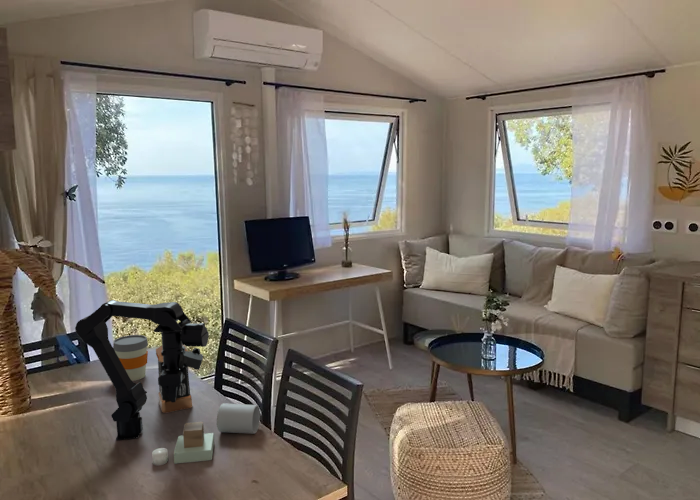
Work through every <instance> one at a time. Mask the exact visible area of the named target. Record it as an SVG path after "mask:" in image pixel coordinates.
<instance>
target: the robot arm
mask: <svg viewBox="0 0 700 500" xmlns="http://www.w3.org/2000/svg"><path fill="white" fill-rule="evenodd" d="M112 317H117V318H118V317H120V318H127V319H129V318H131V319H137V320H138V319H139V320H148V321H150V322H152V323H154V324H156V325H157V327H155V329H154V330H153V332H154V333H160V334H161V336H160V337H161V346H162V352H161V356H163V365H162V369H167V370H168V371H162V372H161V373H160V375H159V374H158V378H157V384H158V386H159V385H160V386H161V387H162V388H163V390H164V391H165V393H166V394H167V396H168V397H169V399H170V401H171V402H175V401H176V394H177V390H179V389H180V385H181V382H182V372H183V371H184V370H185V369H186V367H188V368H191V369H194V370H195V371H197V370H198V371H200V368H201V365H202V363H203V359H204V355H203V353H201V349H200V347H203V348H205V347H207V345H208V342H209V335H210V334H209V333H210V332H209V331H208V329H207V327H206V324H205V322H199V323H192V321H191V319H190V318H189V316H188V315H187V314H186V313H185V312H184V308H182V306H181V304H180V303H178V302H176V301H175V302H174V301H170V302H162V303H156V304H148V303H147V304H146V303H138V302H127V301H117V300H115V299H112V300H109V301H105V302H104V303H102V304H101V305H100V307H98V308H97V309H96V310H94V312H92V313H91V314H89V315H88V316H85V317H84V318H82V319H80V320H78V321H77V322H76V325H75V326H74V327H75V328H74V329H75V333H76V334H77V336H78V337H79V338H80V339H81V340H82V341H81V342H83V343H85V345H88V346H90V348H92V350H93V352H94V354H95V355H96V356H97V358H98V360H99V362H100V364H101V366H102V367H103V369H104V371H105V373H106V375H107V377H108V379H109V380H110V381H111V383H112V385H113V388H114V389H115V401H116V403H117V407H118V408H117V409H116V410H115V411H113V412H112V414H111V418H112V420H113V422H115V425H116V433H117V434H116V437H115V440H116V441H120V440H121V441H122V440H132V439H138V438H139V437H140V436H141V433H142V432H143V430H144V429H143V426H144V425H143V417H142V416H141V413H140V411H142V408H143V406H145V404H146V403H147V400H148V396H147V393H148V392H147V390H145V388H144V386H143V383H142V382H141V381H139V382H137V383H136V382H135V381H132V380H131V379H130V377H129V376H128V374H127V372H126V370H125V368H124V367H123V365H122V363H121V361H120V359H119V358H118V356H117V354H116V352H115V350H114V349H113V344H112V343H111V342H110V340H109V328H108V326H107V325H108V324H107V322H108V321H109V320H111V318H112ZM178 321H179V322H178ZM182 344H183V345H185V347H194V348H193V350H189V351H185V347H184V346H183V345H182ZM197 347H199V348H197Z"/></svg>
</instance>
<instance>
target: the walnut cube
mask: <svg viewBox="0 0 700 500" xmlns="http://www.w3.org/2000/svg"><path fill="white" fill-rule="evenodd" d="M204 429H205V428H204V421H196V422H194V421H193V422H186V423H184V427H183V431H182V436H183V438H184V448H191V447H201V446H203V441H204V434H205V431H204Z"/></svg>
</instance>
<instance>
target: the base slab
mask: <svg viewBox="0 0 700 500" xmlns="http://www.w3.org/2000/svg"><path fill="white" fill-rule="evenodd" d="M214 444H215V434H214V432H209V433H204V441H203V446H201V447H191V448H184V438H183V435H178V437H177V440H176V443H175V448H174V450H173V463H174V464H175V465H176V464H185V463H194V462H205V461H212V459H213V451H214V446H215V445H214Z"/></svg>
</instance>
